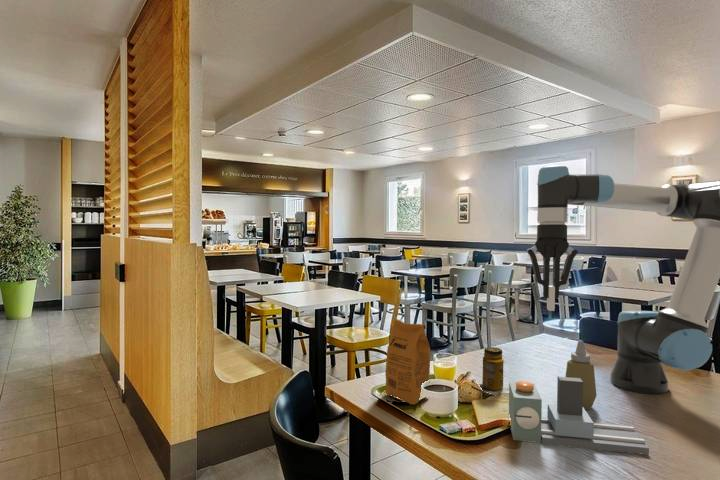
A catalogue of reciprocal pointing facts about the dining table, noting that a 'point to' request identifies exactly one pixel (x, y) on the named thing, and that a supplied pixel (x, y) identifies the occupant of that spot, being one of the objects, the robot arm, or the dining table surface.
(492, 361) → the condiment
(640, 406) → the dining table surface
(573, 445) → the rail bed
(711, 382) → the dining table surface
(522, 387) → the button
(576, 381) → the carriage
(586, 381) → the squeeze bottle
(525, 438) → the gauge cabinet
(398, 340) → the coffee package
